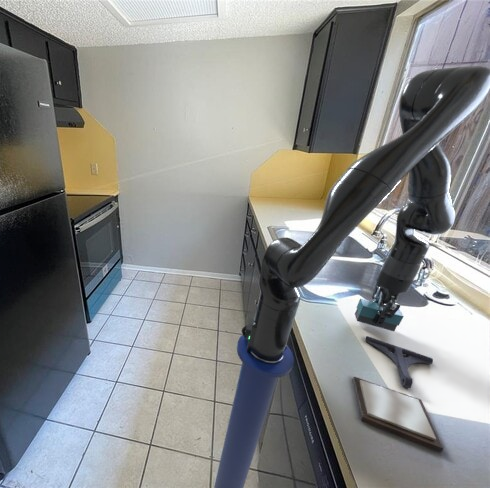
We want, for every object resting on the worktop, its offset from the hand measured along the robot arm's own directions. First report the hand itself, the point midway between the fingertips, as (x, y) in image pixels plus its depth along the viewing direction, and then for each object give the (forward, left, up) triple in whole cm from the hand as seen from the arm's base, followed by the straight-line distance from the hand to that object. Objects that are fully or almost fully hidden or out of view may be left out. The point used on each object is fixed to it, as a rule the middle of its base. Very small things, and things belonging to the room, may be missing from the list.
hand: (375, 319), depth 81 cm
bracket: (+3, -16, -3) cm, 17 cm away
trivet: (-3, -32, -3) cm, 32 cm away
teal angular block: (0, 0, -1) cm, 1 cm away
